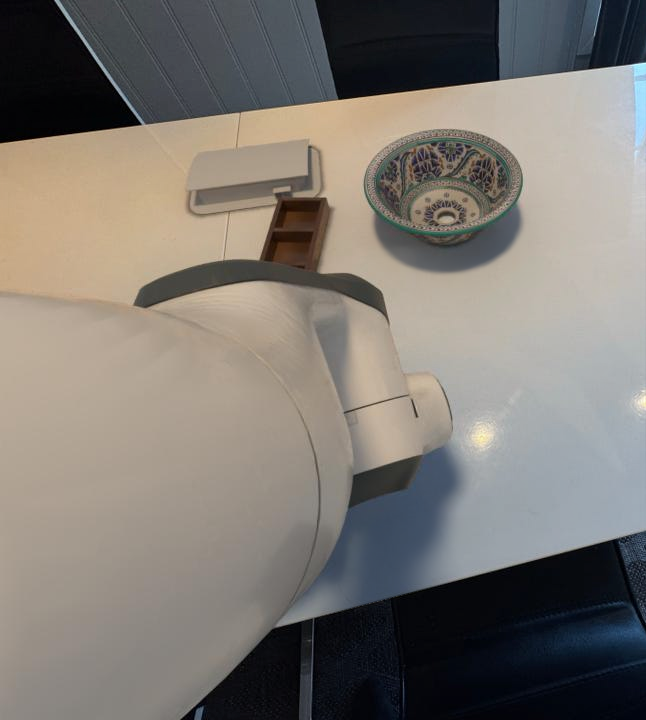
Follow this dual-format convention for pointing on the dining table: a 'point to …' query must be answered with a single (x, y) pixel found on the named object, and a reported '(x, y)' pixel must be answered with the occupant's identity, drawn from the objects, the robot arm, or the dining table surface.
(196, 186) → the grey hinged lid tray
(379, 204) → the bowl
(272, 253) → the rack
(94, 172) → the dining table surface
